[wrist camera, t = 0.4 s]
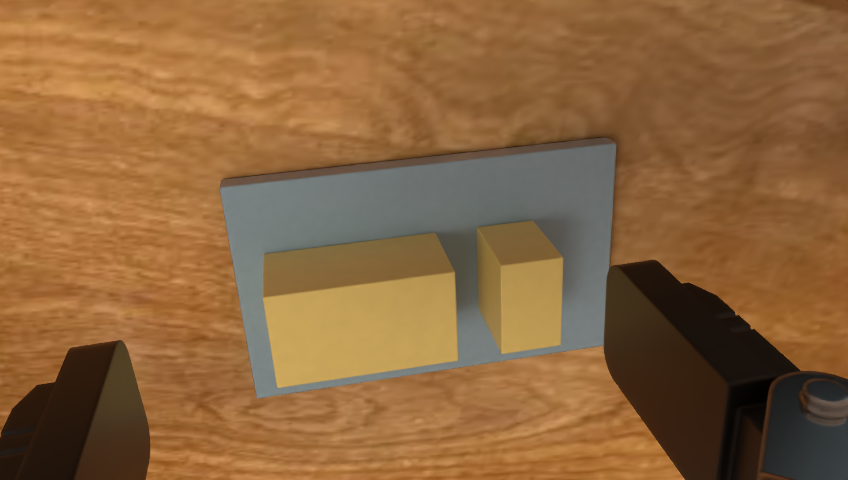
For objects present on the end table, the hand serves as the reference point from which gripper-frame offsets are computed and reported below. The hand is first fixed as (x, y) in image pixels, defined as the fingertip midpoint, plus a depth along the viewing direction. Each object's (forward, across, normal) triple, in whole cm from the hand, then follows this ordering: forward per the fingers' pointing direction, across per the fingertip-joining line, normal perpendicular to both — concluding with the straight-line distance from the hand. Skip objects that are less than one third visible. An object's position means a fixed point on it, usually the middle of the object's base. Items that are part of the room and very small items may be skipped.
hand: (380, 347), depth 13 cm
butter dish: (+13, -3, +5) cm, 14 cm away
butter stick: (+12, 0, +5) cm, 13 cm away
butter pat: (+12, -6, +5) cm, 14 cm away
